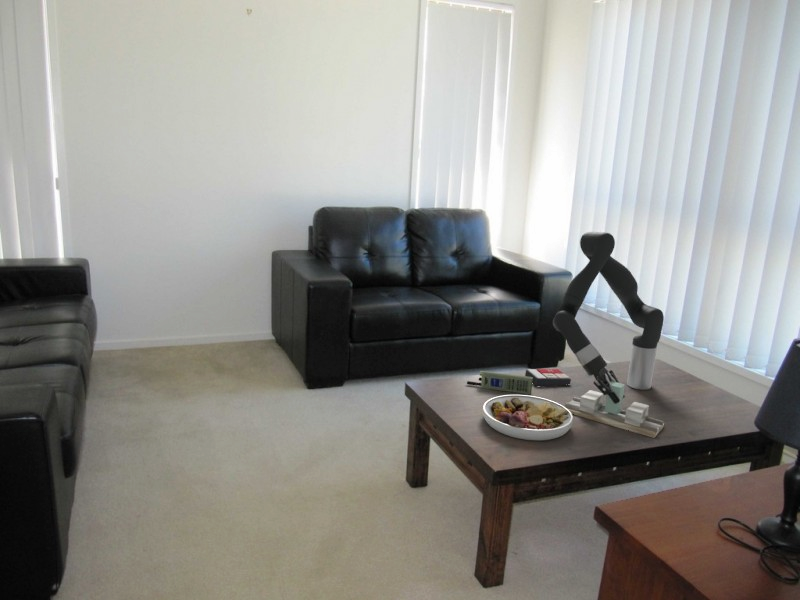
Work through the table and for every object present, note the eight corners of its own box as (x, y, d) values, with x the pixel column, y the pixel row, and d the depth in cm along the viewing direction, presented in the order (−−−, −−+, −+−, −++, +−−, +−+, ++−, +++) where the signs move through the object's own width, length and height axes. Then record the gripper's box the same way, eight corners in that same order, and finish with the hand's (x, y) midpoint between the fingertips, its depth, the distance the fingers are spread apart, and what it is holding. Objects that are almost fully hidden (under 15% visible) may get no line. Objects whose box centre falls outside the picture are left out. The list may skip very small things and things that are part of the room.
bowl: (497, 401, 235) (499, 381, 233) (579, 419, 222) (581, 398, 220) (469, 431, 208) (471, 408, 207) (560, 453, 196) (563, 429, 194)
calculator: (571, 377, 253) (537, 377, 249) (570, 387, 254) (536, 387, 250) (558, 368, 263) (525, 367, 260) (557, 378, 264) (524, 377, 261)
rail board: (575, 401, 237) (577, 385, 235) (664, 426, 218) (666, 408, 217) (562, 411, 227) (564, 393, 226) (654, 437, 209) (657, 419, 207)
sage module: (608, 407, 225) (612, 381, 223) (621, 411, 222) (625, 384, 220) (604, 411, 222) (607, 384, 219) (617, 414, 219) (620, 387, 217)
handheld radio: (531, 395, 242) (466, 387, 247) (531, 392, 245) (467, 384, 250) (532, 378, 240) (467, 370, 246) (532, 376, 243) (468, 368, 249)
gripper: (591, 358, 216) (622, 401, 212) (605, 349, 227) (635, 389, 223) (574, 369, 220) (604, 411, 216) (589, 360, 232) (618, 399, 228)
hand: (620, 400), depth 220 cm, fingers closed on sage module, 4 cm apart
